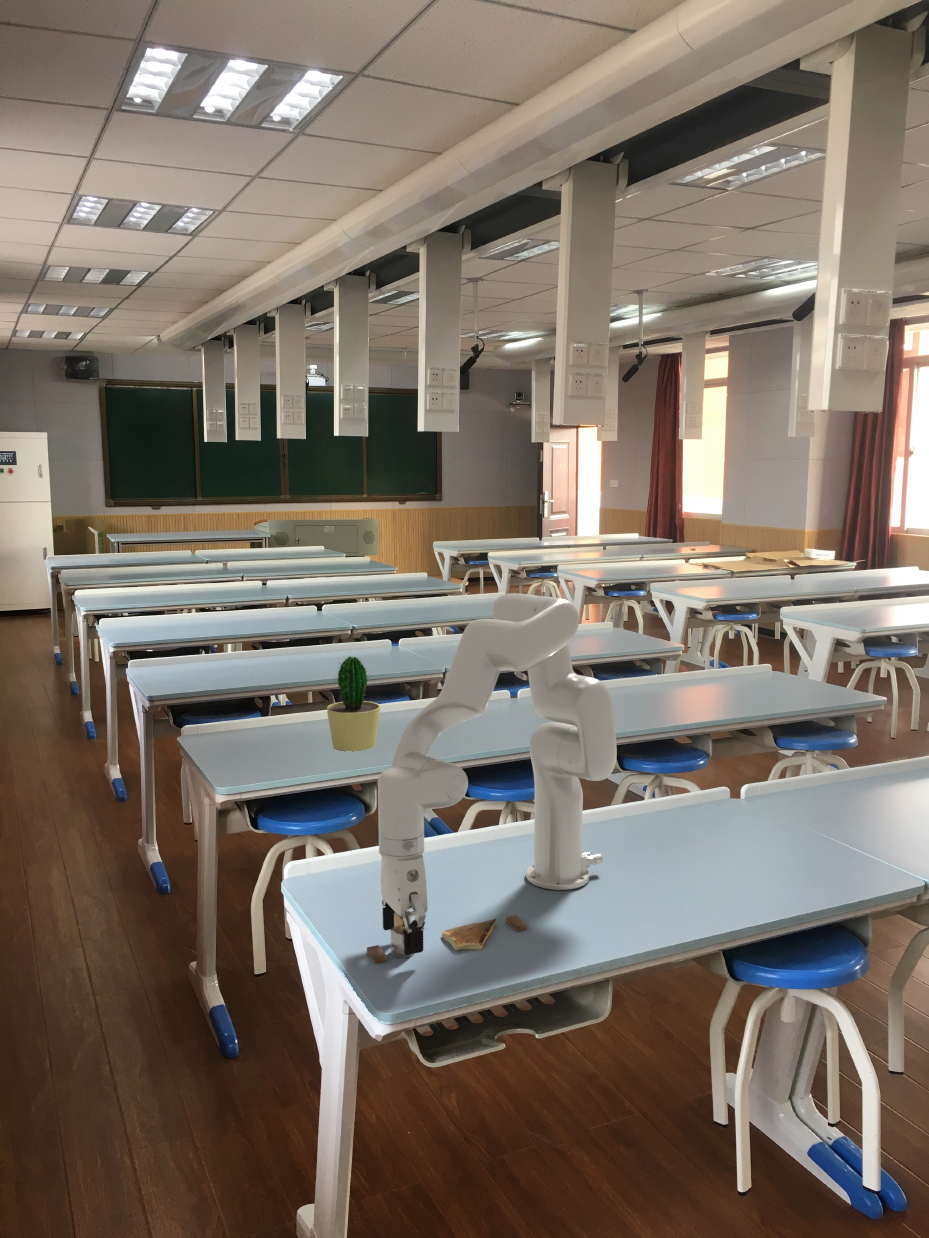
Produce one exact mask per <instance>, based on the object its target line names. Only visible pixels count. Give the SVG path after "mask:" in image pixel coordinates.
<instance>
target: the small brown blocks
mask: <svg viewBox="0 0 929 1238" xmlns="http://www.w3.org/2000/svg"><path fill="white" fill-rule="evenodd" d="M505 919H506V920H505V922H506V924H508V926H510V927H511V928H512V929H513V930H514V931H515V932H522V931H525V930H526V931H527V930H528V924H527V923H526V921H524V920H523V919H521V918H520V917H519V916H518V915H517V914H514V915H510V916H506V918H505ZM366 954H367V955H368V956H369V957H370V959H371V960H372V962H373V963H374V964H379V963H383V962H384V963H385V962H387V954H386V952H385V951H384V950H383V949H382V948H381V947H380V945H379V944H377V945H376V944H375V945H372V946H367V947H366Z"/></svg>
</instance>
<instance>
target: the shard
mask: <svg viewBox="0 0 929 1238" xmlns="http://www.w3.org/2000/svg"><path fill="white" fill-rule="evenodd" d="M496 921H497V918H494V919H490V920H485V921H480V922H476V923H475V922H474V923H470V924H466V925H465V924H464V925H461V926H456V927H454V928H450V929H446V930H445V929H444V931H443V932H442V933H441V936H442V938H443V939H444V940H445V941H446V942H447V943H449V944H450V945H451V947H452V948H453V949H454V950H455V951H460V950H482V949H483V947H484V945H485V942H486V941H487V939H488V938H489V936H490V935H491V934H492V932H493V931H494V928H495V923H496Z"/></svg>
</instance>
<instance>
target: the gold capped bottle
mask: <svg viewBox="0 0 929 1238" xmlns="http://www.w3.org/2000/svg"><path fill="white" fill-rule="evenodd" d="M407 912H411V911H410V910H407V911H406V913H407ZM409 921H410V924H411V923H412V917H409ZM404 931H406V928H405V924H404V920H403V917H401V916H399V915H398V914H397V913H396V912H394V927H393V928H392V929H391V930H390V955H391V956H392V957H393V958H395V959H403V960H405V959H409V958H412V957H413V956H415V954H411V955H406V954H405V953H404Z"/></svg>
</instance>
